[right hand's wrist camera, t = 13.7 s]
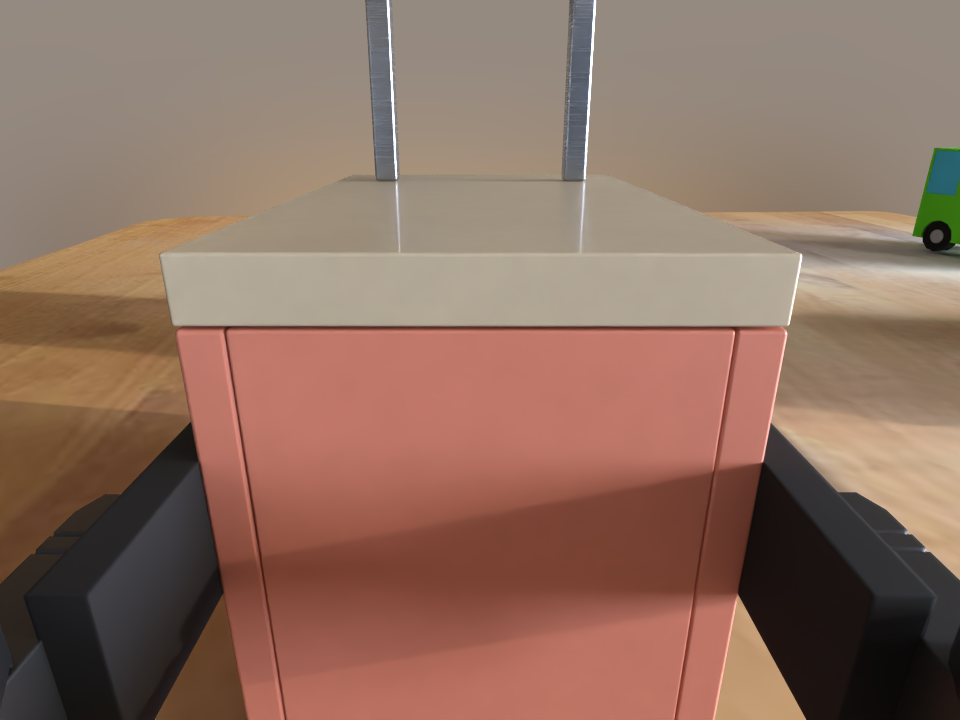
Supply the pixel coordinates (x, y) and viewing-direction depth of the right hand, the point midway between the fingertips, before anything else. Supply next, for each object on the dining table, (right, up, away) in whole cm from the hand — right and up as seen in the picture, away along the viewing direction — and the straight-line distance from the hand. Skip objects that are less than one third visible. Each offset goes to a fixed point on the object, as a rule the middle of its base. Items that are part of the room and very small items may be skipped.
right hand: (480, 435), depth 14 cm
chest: (0, -4, +5) cm, 7 cm away
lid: (0, +5, +2) cm, 5 cm away
